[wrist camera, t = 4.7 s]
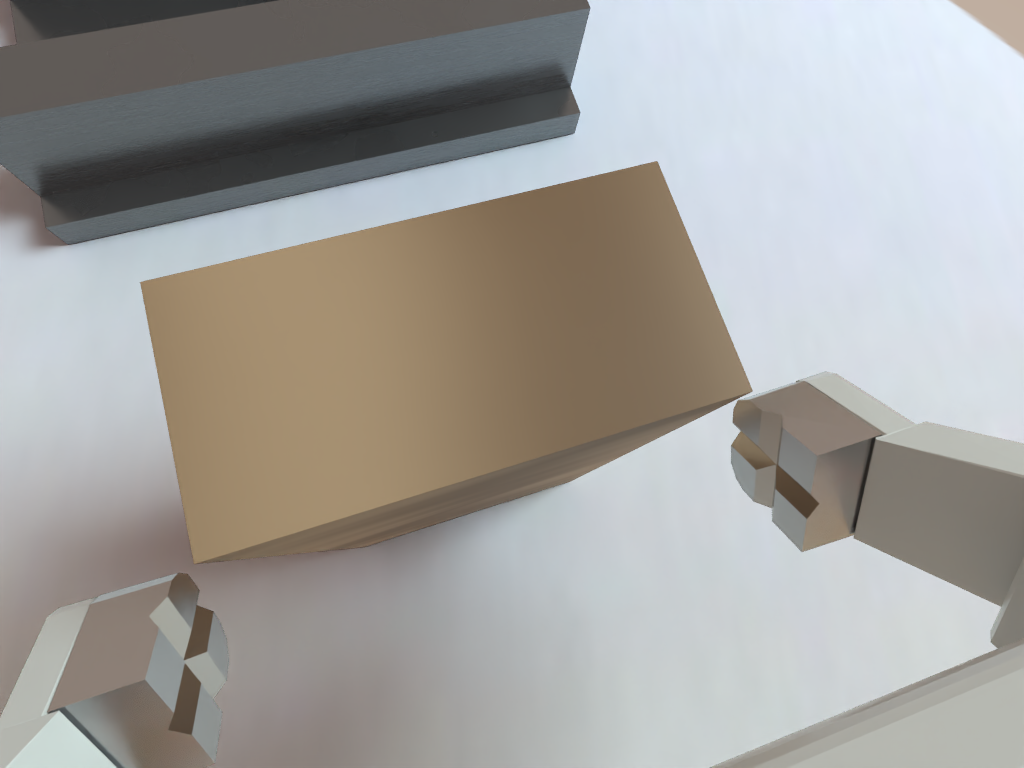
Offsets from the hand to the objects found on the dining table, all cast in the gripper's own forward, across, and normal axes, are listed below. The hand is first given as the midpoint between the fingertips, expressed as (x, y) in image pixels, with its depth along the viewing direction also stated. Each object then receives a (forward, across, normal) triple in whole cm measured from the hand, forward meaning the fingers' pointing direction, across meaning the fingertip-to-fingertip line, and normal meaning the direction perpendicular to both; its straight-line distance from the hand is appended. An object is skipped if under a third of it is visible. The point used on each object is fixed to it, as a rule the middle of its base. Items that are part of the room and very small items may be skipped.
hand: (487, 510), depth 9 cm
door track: (+18, +1, -6) cm, 19 cm away
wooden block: (+7, 0, +5) cm, 8 cm away
